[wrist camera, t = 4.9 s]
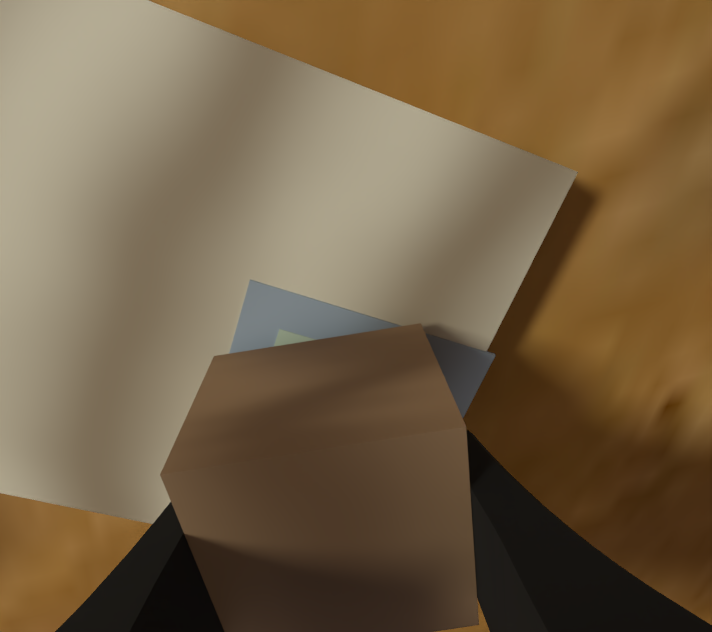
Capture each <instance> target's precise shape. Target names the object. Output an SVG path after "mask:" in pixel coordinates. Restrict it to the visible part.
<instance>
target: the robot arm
mask: <svg viewBox="0 0 712 632" xmlns="http://www.w3.org/2000/svg"><path fill="white" fill-rule="evenodd" d="M467 446H468V462H469V478H470V494H471V509H472V525H473V541H474V556H475V572H476V588H477V598H478V601H479V603H480V606H481V609H482V611H483V614H484V617H485V619H486V622H487V625H488V627H489V630H490V632H712V625H710V624H709V623H707V622H705V621H704V620H702V619H700V618H699V617H697V616H696V615H694V614H692V613H691V612H689V611H688V610H686V609H685V608H683V607H681V606H680V605H678V604H677V603H675V602H673V601H672V600H670V599H669V598H667V597H665V596H664V595H662V594H661V593H659V592H657V591H656V590H654V589H653V588H651V587H649V586H648V585H646V584H645V583H644V582H642V581H641V580H639V579H638V578H636V577H635V576H633V575H632V574H631V573H629V572H628V571H626V570H625V569H623V568H622V567H620V566H619V565H618V564H616V563H615V562H614V561H612V560H611V559H609V558H608V557H607V556H605V555H604V554H603V553H601V552H600V551H599V550H597V549H596V548H595V547H593V546H592V545H591V544H589V543H588V542H587V541H586V540H584V539H583V538H582V537H581V536H579V535H578V534H577V533H576V532H574V531H573V530H572V529H571V528H569V527H568V526H567V525H566V524H565V523H563V522H562V521H561V520H560V519H559V518H558V517H556V516H555V515H554V514H553V513H552V512H550V511H549V510H548V509H547V508H546V507H545V506H544V505H543V504H541V503H540V502H539V501H538V500H537V499H536V498H535V497H534V496H533V495H532V494H531V493H529V492H528V491H527V490H526V489H525V488H524V487H523V486H522V485H521V484H520V483H519V482H518V481H517V480H516V479H515V478H514V477H513V476H512V475H511V474H510V473H509V472H508V471H507V470H506V469H505V468H504V467H503V466H502V465H501V464H500V463H499V462H498V461H497V460H496V459H495V458H494V457H493V456H492V455H491V454H490V453H489V452H488V451H487V450H486V448H485V447H484V446H483V445H482V444H481V443H480V442H479V441H478V439H477V438H476V437H475V436H474V435H473V434H472V433H471V432H469V431H467ZM55 632H224V629H223V627H222V624H221V622H220V620H219V617H218V615H217V612H216V610H215V607H214V605H213V603H212V600H211V598H210V595H209V593H208V590H207V588H206V586H205V583H204V581H203V578H202V576H201V573H200V571H199V569H198V566H197V564H196V561H195V559H194V556H193V554H192V552H191V549H190V547H189V544H188V542H187V539H186V537H185V534H184V532H183V530H182V527H181V525H180V522H179V520H178V517H177V515H176V513H175V510H174V508H173V505H172V503H171V502H170V503H169V504H168V506H167V507H166V508H165V509H164V511H163V512H162V513H161V514H160V516H159V517H158V518H157V519H156V521H155V522H154V523H153V524H152V525H151V527H150V528H149V529H148V530H147V531H146V533H145V534H144V535H143V536H142V537H141V539H140V540H139V541H138V542H137V544H136V545H135V546H134V547H133V548H132V550H131V551H130V552H129V553H128V554H127V555H126V556H125V558H124V559H123V560H122V561H121V562H120V563H119V564H118V565H117V566H116V568H115V569H114V570H113V571H112V572H111V573H110V574H109V575H108V577H107V578H106V579H105V580H104V581H103V582H102V583H101V584H100V585H99V587H98V588H97V589H96V590H95V591H94V592H93V593H92V594H91V595H90V597H89V598H88V599H87V600H86V601H85V602H84V603H83V604H82V605H81V606H80V607H79V608H78V609H77V610H76V611H75V612H74V613H73V614H72V615H71V616H70V617H69V618H68V619H67V620H66V622H65V623H64V624H63V625H62V626H60V627H59V628H58V629H57V630H56V631H55Z"/></svg>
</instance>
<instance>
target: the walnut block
mask: <svg viewBox="0 0 712 632" xmlns="http://www.w3.org/2000/svg"><path fill="white" fill-rule="evenodd" d="M160 476H161V479H162V481H163V483H164V486H165V488H166V491H167V493H168V496H169V498H170V500H171V503H172V505H173V508H174V510H175V513H176V515H177V517H178V520H179V522H180V525H181V527H182V530H183V532H184V534H185V537H186V539H187V542H188V544H189V547H190V549H191V552H192V554H193V556H194V559H195V561H196V564H197V566H198V569H199V571H200V573H201V576H202V578H203V581H204V583H205V586H206V588H207V590H208V593H209V595H210V598H211V600H212V603H213V605H214V607H215V610H216V612H217V615H218V617H219V620H220V622H221V624H222V627H223V629H224V632H434V631H441V630H447V629H454V628H460V627H467V626H473V625H479V619H478V604H477V588H476V572H475V556H474V541H473V525H472V509H471V494H470V478H469V462H468V446H467V431H466V425H465V423H464V420H463V418H462V416H461V414H460V411H459V409H458V407H457V405H456V402H455V400H454V398H453V395H452V393H451V391H450V389H449V386H448V384H447V382H446V380H445V377H444V375H443V373H442V370H441V368H440V366H439V364H438V361H437V359H436V357H435V355H434V352H433V350H432V348H431V345H430V343H429V341H428V339H427V336H426V334H425V332H424V330H423V327H422V325H421V323H419V324H413V325H406V326H400V327H394V328H387V329H381V330H375V331H368V332H362V333H356V334H350V335H343V336H337V337H331V338H324V339H318V340H312V341H305V342H299V343H293V344H287V345H280V346H274V347H268V348H261V349H255V350H249V351H242V352H236V353H230V354H224V355H217V356H214V357H213V359H212V361H211V364H210V366H209V368H208V370H207V372H206V375H205V377H204V379H203V381H202V383H201V386H200V388H199V390H198V392H197V394H196V397H195V399H194V401H193V403H192V405H191V408H190V410H189V412H188V414H187V416H186V419H185V421H184V423H183V425H182V427H181V430H180V432H179V434H178V436H177V438H176V441H175V443H174V445H173V447H172V449H171V452H170V454H169V456H168V458H167V460H166V463H165V465H164V467H163V469H162V471H161V474H160Z"/></svg>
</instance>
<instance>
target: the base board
mask: <svg viewBox="0 0 712 632" xmlns="http://www.w3.org/2000/svg"><path fill="white" fill-rule="evenodd" d="M577 173H578V172H577V171H574V170H572V169H569V168H567V167H564V166H562V165H559V164H557V163H554V162H551V161H549V160H546V159H544V158H541V157H539V156H536V155H534V154H531V153H529V152H526V151H524V150H521V149H519V148H516V147H514V146H511V145H509V144H506V143H504V142H501V141H499V140H496V139H494V138H491V137H489V136H486V135H484V134H481V133H479V132H476V131H474V130H471V129H469V128H466V127H464V126H461V125H459V124H456V123H454V122H451V121H449V120H446V119H444V118H441V117H439V116H436V115H434V114H431V113H429V112H426V111H424V110H421V109H419V108H416V107H414V106H411V105H409V104H406V103H404V102H401V101H399V100H396V99H394V98H391V97H389V96H386V95H384V94H381V93H379V92H376V91H374V90H371V89H369V88H366V87H364V86H361V85H359V84H356V83H354V82H351V81H349V80H346V79H344V78H341V77H339V76H336V75H334V74H331V73H329V72H326V71H324V70H321V69H319V68H316V67H313V66H311V65H308V64H306V63H303V62H301V61H298V60H296V59H293V58H291V57H288V56H286V55H283V54H281V53H278V52H276V51H273V50H271V49H268V48H266V47H263V46H261V45H258V44H256V43H253V42H251V41H248V40H246V39H243V38H241V37H238V36H236V35H233V34H231V33H228V32H226V31H223V30H221V29H218V28H216V27H213V26H211V25H208V24H206V23H203V22H201V21H198V20H196V19H193V18H191V17H188V16H186V15H183V14H181V13H178V12H176V11H173V10H171V9H168V8H166V7H163V6H161V5H158V4H156V3H153V2H151V1H148V0H0V493H3V494H8V495H13V496H18V497H23V498H28V499H32V500H37V501H42V502H47V503H52V504H57V505H62V506H67V507H72V508H77V509H82V510H86V511H91V512H96V513H101V514H106V515H111V516H116V517H121V518H126V519H131V520H136V521H141V522H145V523H150V524H153V523H154V522H155V521H156V519H157V518H158V517H159V516H160V514H161V513H162V512H163V511H164V509H165V508H166V507H167V506H168V504H169V503H170V502H171V500H170V498H169V496H168V493H167V491H166V488H165V486H164V483H163V481H162V479H161V476H160V474H161V471H162V469H163V467H164V465H165V463H166V460H167V458H168V456H169V454H170V452H171V449H172V447H173V445H174V443H175V441H176V438H177V436H178V434H179V432H180V430H181V427H182V425H183V423H184V421H185V419H186V416H187V414H188V412H189V410H190V408H191V405H192V403H193V401H194V399H195V397H196V394H197V392H198V390H199V388H200V386H201V383H202V381H203V379H204V377H205V375H206V372H207V370H208V368H209V366H210V364H211V361H212V359H213V357H214V356H217V355H224V354H230V353H236V352H242V351H249V350H255V349H261V348H268V347H274V346H280V345H287V344H293V343H299V342H305V341H312V340H318V339H324V338H331V337H337V336H343V335H350V334H356V333H362V332H368V331H375V330H381V329H387V328H394V327H400V326H406V325H413V324H419V323H421V325H422V327H423V330H424V332H425V334H426V336H427V339H428V341H429V343H430V345H431V348H432V350H433V352H434V355H435V357H436V359H437V361H438V364H439V366H440V368H441V370H442V373H443V375H444V377H445V380H446V382H447V384H448V386H449V389H450V391H451V393H452V395H453V398H454V400H455V402H456V405H457V407H458V409H459V411H460V414H461V416H462V418H463V417H464V415H465V413H466V411H467V410H468V408H469V406H470V404H471V402H472V400H473V398H474V396H475V394H476V392H477V390H478V388H479V386H480V384H481V383H482V381H483V379H484V377H485V375H486V373H487V371H488V369H489V367H490V365H491V363H492V361H493V359H494V358H495V356H496V355H495V354H494V353H491V352H488V351H487V350H488V348H489V346H490V344H491V342H492V340H493V338H494V336H495V334H496V332H497V330H498V328H499V326H500V324H501V322H502V320H503V318H504V316H505V314H506V312H507V310H508V309H509V307H510V305H511V303H512V301H513V299H514V297H515V295H516V293H517V291H518V289H519V287H520V285H521V283H522V281H523V279H524V277H525V275H526V273H527V271H528V269H529V267H530V265H531V263H532V261H533V259H534V257H535V255H536V254H537V252H538V250H539V248H540V246H541V244H542V242H543V240H544V238H545V236H546V234H547V232H548V230H549V228H550V226H551V224H552V222H553V220H554V218H555V216H556V214H557V212H558V210H559V208H560V206H561V204H562V202H563V200H564V199H565V197H566V195H567V193H568V191H569V189H570V187H571V185H572V183H573V181H574V179H575V177H576V175H577Z"/></svg>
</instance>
